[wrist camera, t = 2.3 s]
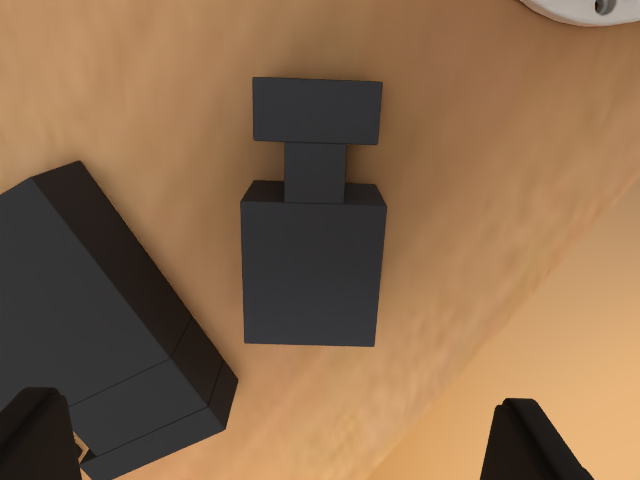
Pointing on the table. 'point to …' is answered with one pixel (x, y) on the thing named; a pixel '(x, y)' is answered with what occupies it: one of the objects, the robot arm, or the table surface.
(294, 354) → the table surface
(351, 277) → the plug pad
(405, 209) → the table surface
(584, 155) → the table surface
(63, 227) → the base pad
